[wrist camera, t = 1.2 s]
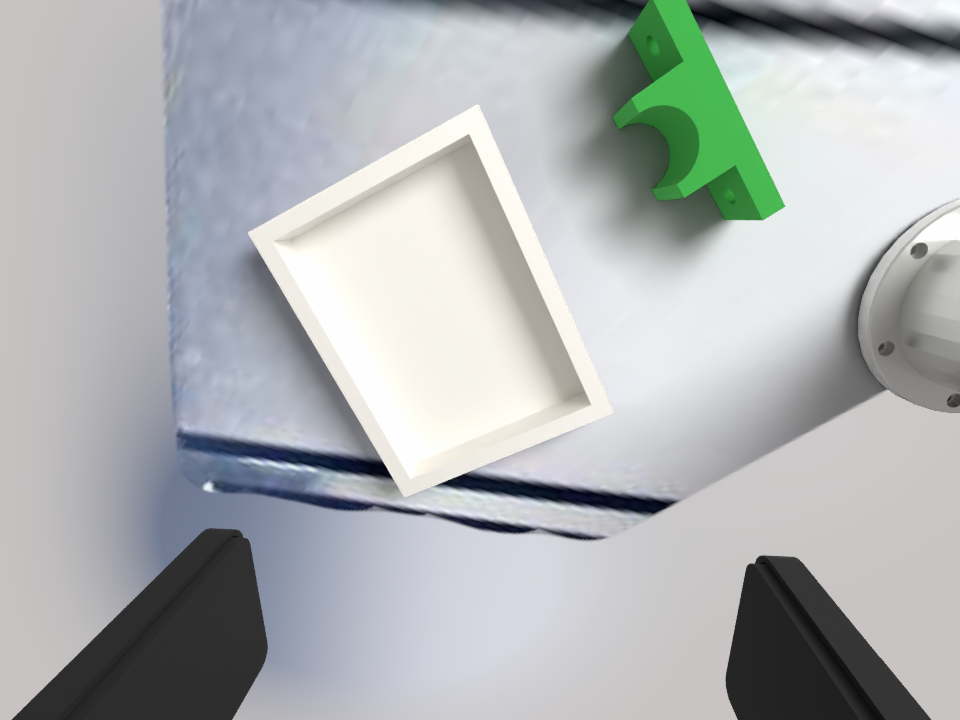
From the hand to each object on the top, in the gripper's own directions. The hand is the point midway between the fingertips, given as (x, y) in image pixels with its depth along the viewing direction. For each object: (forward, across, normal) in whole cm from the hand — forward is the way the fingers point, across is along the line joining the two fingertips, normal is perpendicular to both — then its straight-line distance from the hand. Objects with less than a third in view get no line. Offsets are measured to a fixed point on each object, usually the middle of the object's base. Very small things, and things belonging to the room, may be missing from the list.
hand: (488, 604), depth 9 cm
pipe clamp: (+22, -8, -11) cm, 26 cm away
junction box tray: (+21, +4, -1) cm, 22 cm away
